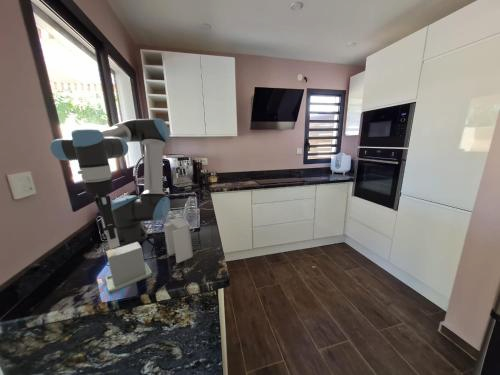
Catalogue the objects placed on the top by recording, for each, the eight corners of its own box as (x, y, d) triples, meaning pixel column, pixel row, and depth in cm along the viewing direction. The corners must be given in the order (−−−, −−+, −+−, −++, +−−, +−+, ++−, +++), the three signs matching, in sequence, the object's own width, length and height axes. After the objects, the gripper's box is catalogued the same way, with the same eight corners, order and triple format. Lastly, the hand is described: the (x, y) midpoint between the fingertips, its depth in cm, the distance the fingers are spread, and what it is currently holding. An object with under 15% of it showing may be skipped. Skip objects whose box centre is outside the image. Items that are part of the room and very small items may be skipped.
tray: (105, 279, 72) (105, 277, 72) (145, 264, 81) (145, 261, 80) (109, 293, 65) (108, 290, 65) (152, 275, 74) (152, 272, 73)
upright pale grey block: (112, 278, 72) (106, 250, 69) (142, 266, 78) (137, 240, 76) (114, 286, 67) (108, 257, 65) (146, 273, 74) (141, 246, 71)
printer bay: (167, 252, 89) (163, 221, 85) (182, 247, 93) (178, 217, 90) (177, 263, 80) (172, 229, 77) (193, 256, 85) (189, 224, 82)
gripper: (81, 177, 69) (95, 231, 75) (84, 187, 51) (102, 259, 56) (107, 173, 74) (118, 225, 79) (117, 182, 56) (131, 249, 61)
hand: (111, 239), depth 68 cm, fingers open, 13 cm apart
